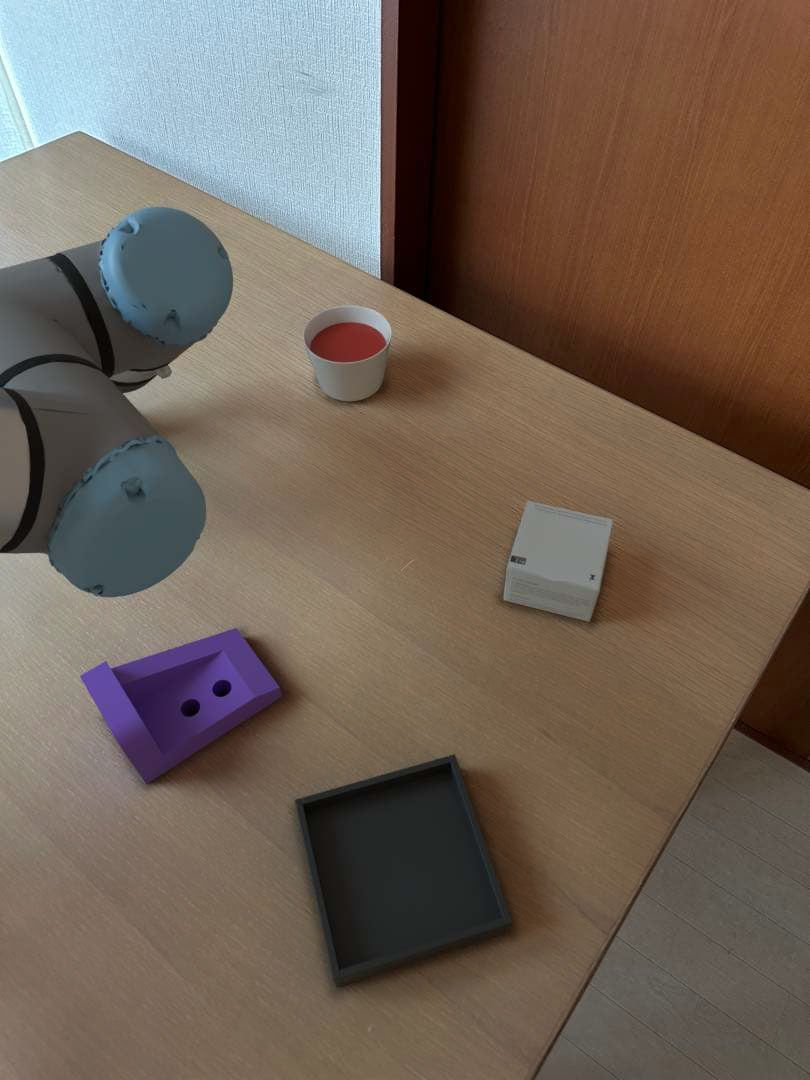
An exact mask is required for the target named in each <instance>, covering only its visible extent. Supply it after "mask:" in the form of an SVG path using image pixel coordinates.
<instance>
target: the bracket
mask: <svg viewBox="0 0 810 1080" xmlns="http://www.w3.org/2000/svg"><path fill="white" fill-rule="evenodd" d="M79 677H80V680H81V681H82V683H83V684H84V687H85V688H86V690H87V691H88V694H89V695H90V697H91V698H92V700H93V703H94V704H95V705H96V707H97V709H98V710H99V713H100V714H101V716H102V718H103V720H104V721H105V724H106V725H107V726H108V728H109V730H110V731H111V733H112V735H113V737H114V738H115V740H116V742H117V744H118V745H119V746H120V748H121V750H122V751H123V753H124V754H125V756H126V757H127V759H128V760H129V762H130V763H131V764H132V766H133V768H134V769H135V770H136V772H137V774H138V775H139V776H140V777H141V779H142V780H143V782H144V783H145V785H147V784H149V783H151V782H152V781H154V780H155V779H158V778H159V777H160V776H161V775H163V774H165V773H166V772H168V771H169V770H170V769H172V768H174V767H175V766H177V765H178V764H180V763H181V762H183V761H185V760H187V758H189V757H191V756H192V755H194V754H195V753H197V752H198V751H200V750H202V749H203V748H205V747H207V746H208V745H209V744H211V743H213V742H214V741H216V740H217V739H219V738H220V737H222V736H223V735H225V734H226V733H228V732H230V731H231V730H232V729H234V728H235V727H238V726H239V725H241V724H242V723H243V722H245V721H247V720H248V719H250V718H251V717H253V716H255V715H256V714H257V713H259V712H261V711H262V710H264V709H265V708H267V707H268V706H270V705H271V704H273V703H274V702H276V701H278V700H279V699H281V698H282V697H283V694H282V691H281V687H280V686H279V684H278V683H277V682H276V680H275V679H274V677H273V676H272V675H271V673H270V672H269V670H268V669H267V668H266V666H265V665H264V664H263V662H262V661H261V660H260V659H259V657H258V656H257V654H256V653H255V652H254V650H253V649H252V647H251V646H250V644H249V643H248V642H247V640H246V639H245V638H244V636H243V635H242V633H241V632H240V631H239V630H238V628H237V627H235V628H232V629H231V628H230V629H229V630H225V631H222V632H219V633H216V634H213V635H210V636H207V637H204V638H201V639H198V640H194V641H191V642H188V643H185V644H182V645H178V646H176V647H173V648H170V649H167V650H164V651H160V652H157V653H153V654H151V655H148V656H144V657H142V658H138V659H136V660H132V661H129V662H126V663H122V664H120V665H117V666H114V667H111V666H110V665H109V663H108V662H107V661H106V660H105V661H103V662H101V663H99V664H98V665H96V666H95V667H93V668H91V669H89V670H87V671H86V672H84V673H82V674H81V675H79ZM227 691H229V692H228V693H227V694H226V695H224V696H219V695H220V694H222V693H224V692H227ZM197 710H198V711H197ZM194 711H197V713H196V714H194V715H192V716H188V715H189V714H190V713H192V712H194Z"/></svg>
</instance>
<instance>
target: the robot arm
mask: <svg viewBox="0 0 810 1080" xmlns="http://www.w3.org/2000/svg"><path fill="white" fill-rule="evenodd" d="M233 291H234V273H233V267H232V264H231V261H230V258H229V254H228V251H227V250H226V248H225V247H224V245H223V243H222V242H221V240H220V239H219V237H218V236H217V235H216V234H215V233H214V231H213V230H212V229H210V227H209V226H208V225H207V224H206V223H204V222H203V221H201V220H200V219H199V218H196V217H195V216H193V215H191V214H190V213H187V212H186V211H184V210H181V209H176V208H173V207H168V206H149V207H145V208H140V209H138V210H135V211H133V212H132V213H130V214H128V215H126V217H124V218H123V219H122V220H121V221H119V222H118V224H117V225H116V226H115V227H111V228H110V229H109V231H108V233H107V235H106V237H105V238H104V239H102V240H97V241H94V242H91V243H87V244H84V245H80V246H76V247H73V248H68V249H66V250H61V251H59V252H56V253H55V254H53V255H49V256H45V257H40V258H37V259H33V260H30V261H26V262H21V263H17V264H14V265H9V266H6V267H3V268H0V554H11V555H12V554H13V555H16V554H18V555H19V554H43V555H47V557H48V560H49V563H50V566H51V567H53V568H54V569H55V570H56V572H57V573H59V574H61V575H62V576H63V577H64V578H65V579H66V580H67V581H68V582H69V583H70V584H71V585H73V586H74V587H76V588H77V589H79V590H80V591H82V592H85V593H88V594H92V595H93V596H94V597H101V598H119V597H120V598H121V597H126V596H130V595H134V594H138V593H140V592H143V591H145V590H147V589H150V588H152V587H153V586H156V585H158V584H159V583H160V582H162V581H164V580H165V579H167V578H168V577H169V576H170V575H172V574H173V573H174V572H176V570H178V569H179V568H180V567H181V566H182V565H183V564H184V563H185V562H186V560H187V559H188V558H189V557H190V555H191V554H192V553H193V551H195V547H196V545H197V542H198V541H199V540H200V538H201V535H202V533H203V532H204V529H205V525H206V520H207V503H206V502H207V501H206V497H205V494H204V492H203V489H202V487H201V486H200V484H199V483H198V481H197V480H196V479H195V478H194V476H193V474H192V473H191V472H190V471H189V469H188V468H187V467H186V465H185V464H184V463H183V461H182V460H181V458H179V456H178V453H177V450H176V448H175V446H174V445H173V444H172V443H171V442H170V440H168V439H167V438H166V437H163V436H162V435H161V434H160V433H159V431H157V429H156V428H155V427H154V426H153V425H152V424H151V423H150V422H149V421H148V419H147V418H146V417H145V416H144V415H143V414H142V413H141V412H140V411H139V409H138V408H137V407H136V406H135V405H134V404H133V403H132V402H131V401H130V400H129V399H128V398H127V396H126V395H125V394H127V393H128V394H129V393H132V392H135V391H137V390H140V389H142V388H143V387H145V386H146V385H148V384H149V383H150V382H151V381H152V380H153V379H155V378H156V377H157V376H158V377H159V378H161V379H162V380H163V379H168V378H169V377H171V375H172V371H173V370H172V369H171V367H170V366H169V365H170V364H171V363H172V362H174V361H175V360H176V359H178V358H179V357H180V356H181V355H182V354H183V353H185V352H186V351H188V349H190V348H191V347H192V346H193V345H194V344H196V343H198V342H201V341H203V340H206V338H208V335H209V334H211V333H212V332H213V330H214V327H216V326H217V325H218V323H219V321H220V320H221V318H222V317H223V315H224V314H225V313H226V311H227V309H228V307H229V306H230V302H231V299H232V295H233Z"/></svg>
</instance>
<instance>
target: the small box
mask: <svg viewBox="0 0 810 1080" xmlns="http://www.w3.org/2000/svg"><path fill="white" fill-rule="evenodd" d="M613 523H614V519H612V518H607V517H603V516H599V515H594V514H590V513H585V512H582V511H581V512H580V511H576V510H572V509H567V508H562V507H557V506H554V505H549V504H545V503H540V502H537V501H532V500H527V501H526V504H525V507H524V510H523V513H522V516H521V519H520V522H519V526H518V529H517V532H516V535H515V539H514V542H513V545H512V548H511V550H510V551H511V552H510V555H509V559H508V561H507V565H506V572H505V573H506V574H505V583H504V590H503V601H505V602H510V603H512V604H517V605H522V606H526V607H530V608H533V609H537V610H540V611H541V610H542V611H544V612H549V613H553V614H556V615H561V616H565V617H569V618H571V619H572V618H573V619H575V620H576V619H577V620H581V621H584V622H588V623H589V622H591V621H592V620H591V619H592V617H593V615H594V610H595V607H596V604H597V601H598V597H599V594H600V591H601V588H602V581H603V576H604V573H605V567H606V561H607V557H608V556H607V555H608V551H609V545H610V540H611V535H612V528H613Z"/></svg>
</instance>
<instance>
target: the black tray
mask: <svg viewBox="0 0 810 1080" xmlns="http://www.w3.org/2000/svg"><path fill="white" fill-rule="evenodd" d="M467 788H468V787H467V786H466V782H465V780H464V777H463V774H462V771H461V768H460V765H459V762H458V759H457V757H456V754H451V755H447V756H444V757H440V758H436V759H433V760H431V761H427V762H423V763H419V764H415V765H412V766H408V767H405V768H402V769H397V770H395V771H391V772H388V773H383V774H381V775H377V776H374V777H370V778H366V779H363V780H360V781H359V780H358V781H356V782H352V783H349V784H346V785H342V786H338V787H335V788H331V789H327V790H325V791H321V792H317V793H313V794H311V795H307V796H303V797H300V798H297V799H294V803H295V808H296V813H297V818H298V823H299V827H300V832H301V836H302V841H303V845H304V846H303V847H304V851H305V856H306V860H307V864H308V869H309V873H310V874H309V875H310V878H311V883H312V888H313V893H314V897H315V902H316V906H317V911H318V916H319V920H320V924H321V928H322V934H323V938H324V942H325V948H326V953H327V957H328V961H329V967H330V971H331V976H332V980H333V982H334V985H335V987H336V988H340V987H342V986H346V985H348V984H352V983H355V982H358V981H361V980H364V979H367V978H370V977H374V976H376V975H380V974H382V973H386V972H389V971H392V970H395V969H398V968H401V967H403V966H404V967H405V966H407V965H410V964H413V963H416V962H420V961H422V960H426V959H429V958H432V957H435V956H438V955H441V954H444V953H447V952H450V951H454V950H456V949H458V948H459V949H460V948H462V947H465V946H468V945H472V944H474V943H478V942H480V941H485V940H487V939H490V938H493V937H496V936H499V935H502V934H505V933H509V932H510V930H511V928H512V925H513V919H512V916H511V913H510V910H509V908H508V905H507V901H506V899H505V896H504V894H503V889H502V887H501V885H500V881H499V879H498V876H497V873H496V870H495V867H494V864H493V861H492V858H491V855H490V852H489V850H488V847H487V844H486V841H485V838H484V834H483V832H482V829H481V826H480V824H479V821H478V817H477V815H476V812H475V809H474V807H473V803H472V801H471V798H470V797H471V796H470V794H469V791H468V789H467Z"/></svg>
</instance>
